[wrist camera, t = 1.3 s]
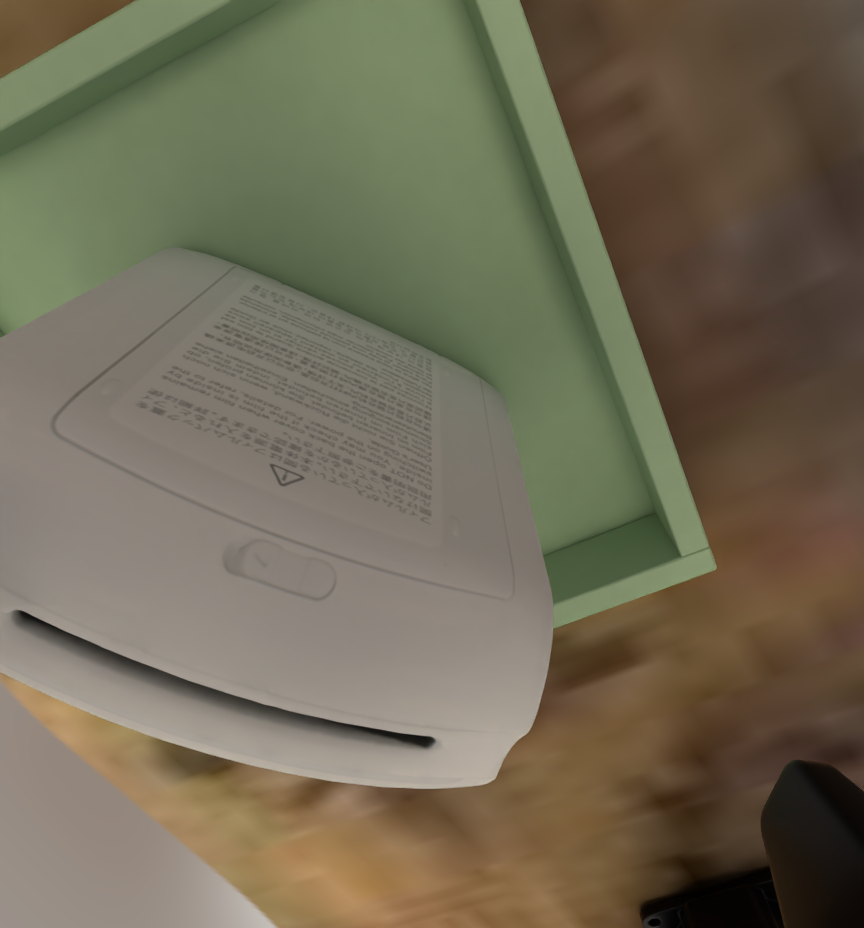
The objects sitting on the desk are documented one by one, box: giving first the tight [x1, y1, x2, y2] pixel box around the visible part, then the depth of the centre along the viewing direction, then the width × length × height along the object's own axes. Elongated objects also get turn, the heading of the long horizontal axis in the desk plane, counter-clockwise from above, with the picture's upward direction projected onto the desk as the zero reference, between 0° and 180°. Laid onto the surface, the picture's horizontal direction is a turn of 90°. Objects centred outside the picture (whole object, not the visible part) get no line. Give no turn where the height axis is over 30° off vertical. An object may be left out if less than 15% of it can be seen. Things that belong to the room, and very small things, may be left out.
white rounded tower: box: [0, 247, 554, 789], centre depth 15 cm, size 10×4×12 cm, turn 65°
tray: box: [0, 0, 717, 629], centre depth 19 cm, size 18×16×3 cm
